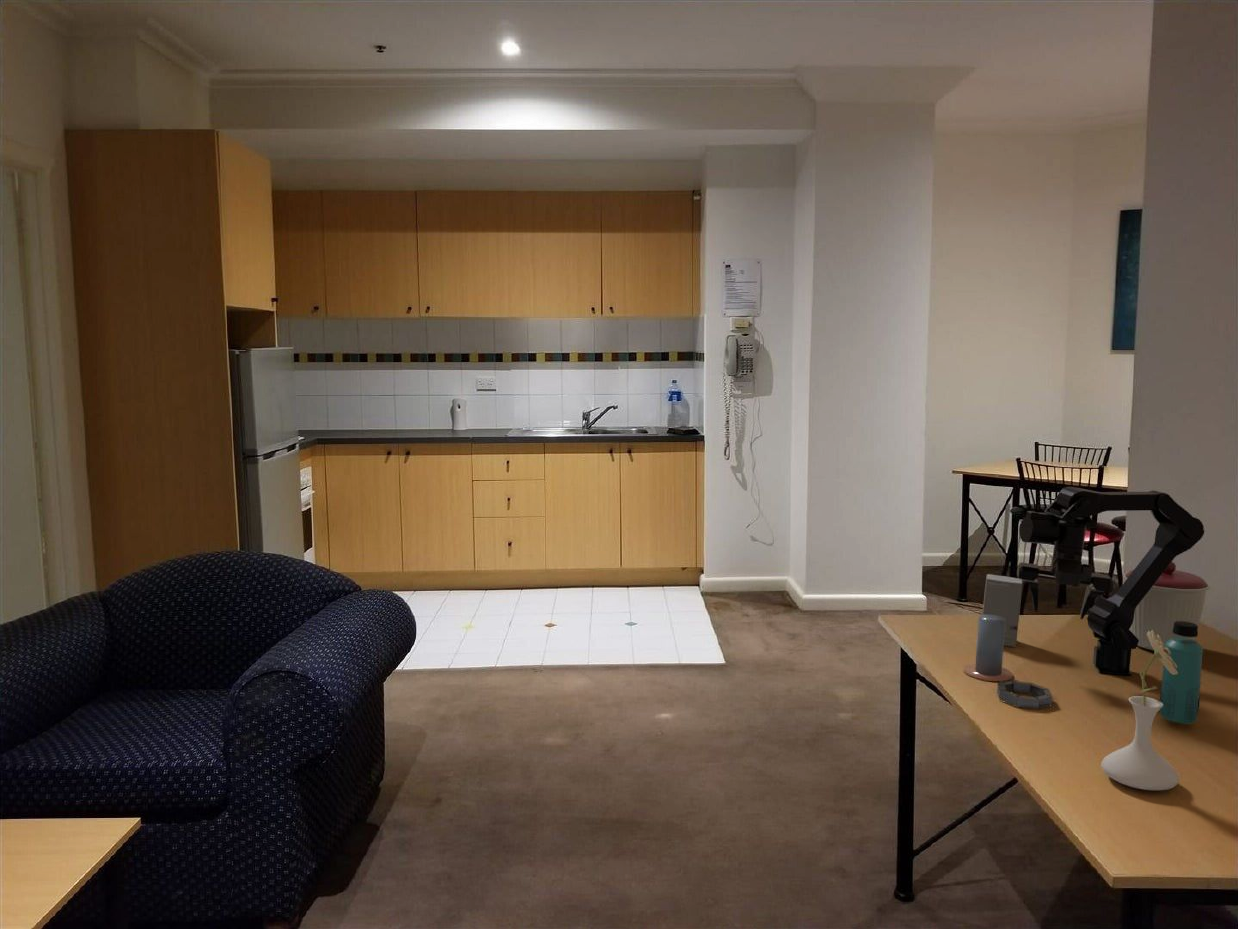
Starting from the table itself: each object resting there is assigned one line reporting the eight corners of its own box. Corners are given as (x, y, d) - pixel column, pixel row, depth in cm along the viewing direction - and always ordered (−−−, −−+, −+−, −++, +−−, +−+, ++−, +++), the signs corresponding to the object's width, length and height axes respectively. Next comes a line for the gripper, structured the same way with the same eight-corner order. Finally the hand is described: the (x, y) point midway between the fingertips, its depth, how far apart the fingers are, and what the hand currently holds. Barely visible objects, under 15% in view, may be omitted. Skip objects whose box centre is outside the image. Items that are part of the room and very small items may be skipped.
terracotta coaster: (1009, 668, 214) (1009, 666, 214) (1015, 684, 204) (1015, 681, 204) (961, 664, 217) (961, 661, 217) (965, 679, 207) (965, 676, 207)
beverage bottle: (1202, 733, 180) (1213, 629, 178) (1163, 729, 182) (1173, 626, 179) (1189, 719, 187) (1199, 619, 184) (1152, 716, 188) (1161, 616, 185)
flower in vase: (1176, 804, 152) (1191, 651, 149) (1096, 786, 158) (1109, 638, 155) (1179, 773, 163) (1194, 630, 160) (1104, 757, 169) (1117, 618, 166)
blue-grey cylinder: (1005, 671, 211) (1009, 618, 209) (996, 677, 207) (999, 623, 205) (981, 665, 214) (984, 613, 213) (971, 671, 210) (974, 618, 209)
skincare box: (979, 643, 231) (984, 579, 229) (980, 635, 238) (985, 572, 236) (1018, 648, 228) (1022, 583, 226) (1017, 639, 235) (1022, 576, 233)
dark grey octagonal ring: (1046, 693, 199) (1046, 684, 199) (1054, 711, 190) (1054, 701, 189) (995, 688, 202) (996, 679, 201) (1000, 705, 192) (1001, 695, 192)
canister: (1206, 644, 234) (1214, 559, 231) (1201, 664, 219) (1210, 573, 216) (1122, 630, 244) (1130, 548, 241) (1112, 649, 229) (1120, 562, 226)
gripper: (1025, 545, 205) (1014, 616, 207) (1122, 559, 199) (1110, 632, 201) (1021, 537, 215) (1012, 604, 217) (1114, 549, 210) (1103, 619, 212)
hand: (1058, 615), depth 212 cm, fingers open, 9 cm apart
